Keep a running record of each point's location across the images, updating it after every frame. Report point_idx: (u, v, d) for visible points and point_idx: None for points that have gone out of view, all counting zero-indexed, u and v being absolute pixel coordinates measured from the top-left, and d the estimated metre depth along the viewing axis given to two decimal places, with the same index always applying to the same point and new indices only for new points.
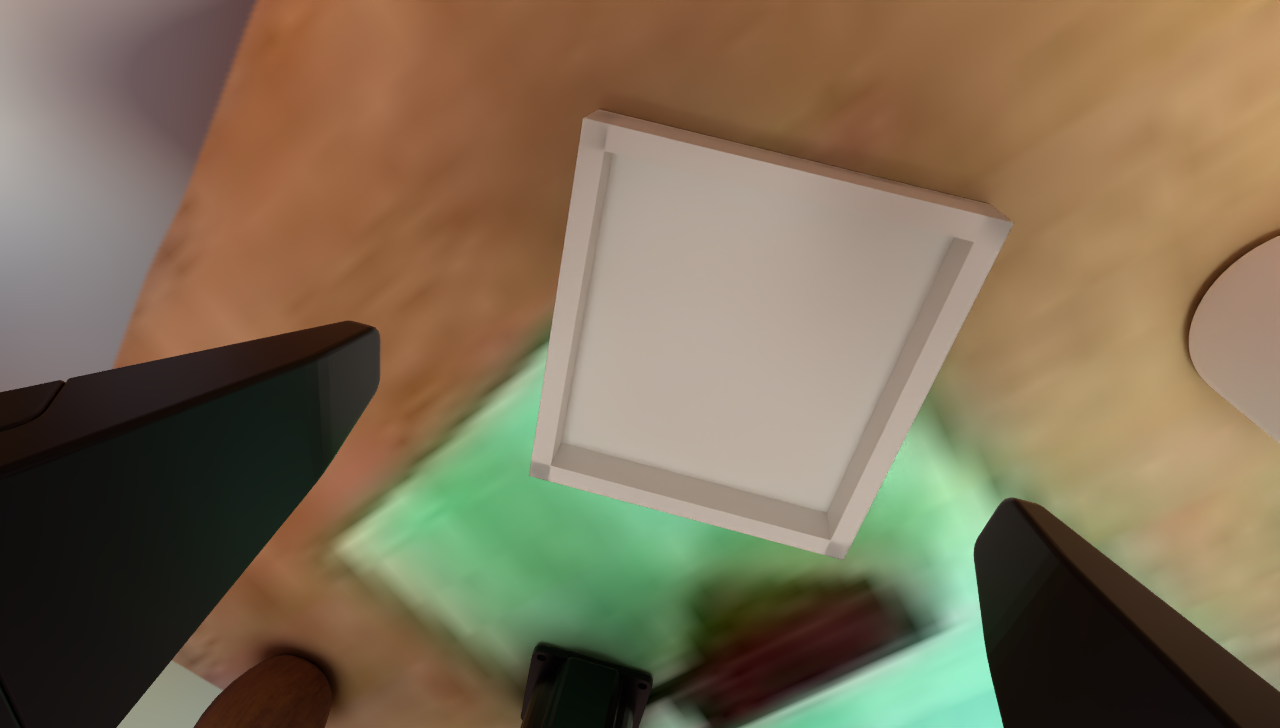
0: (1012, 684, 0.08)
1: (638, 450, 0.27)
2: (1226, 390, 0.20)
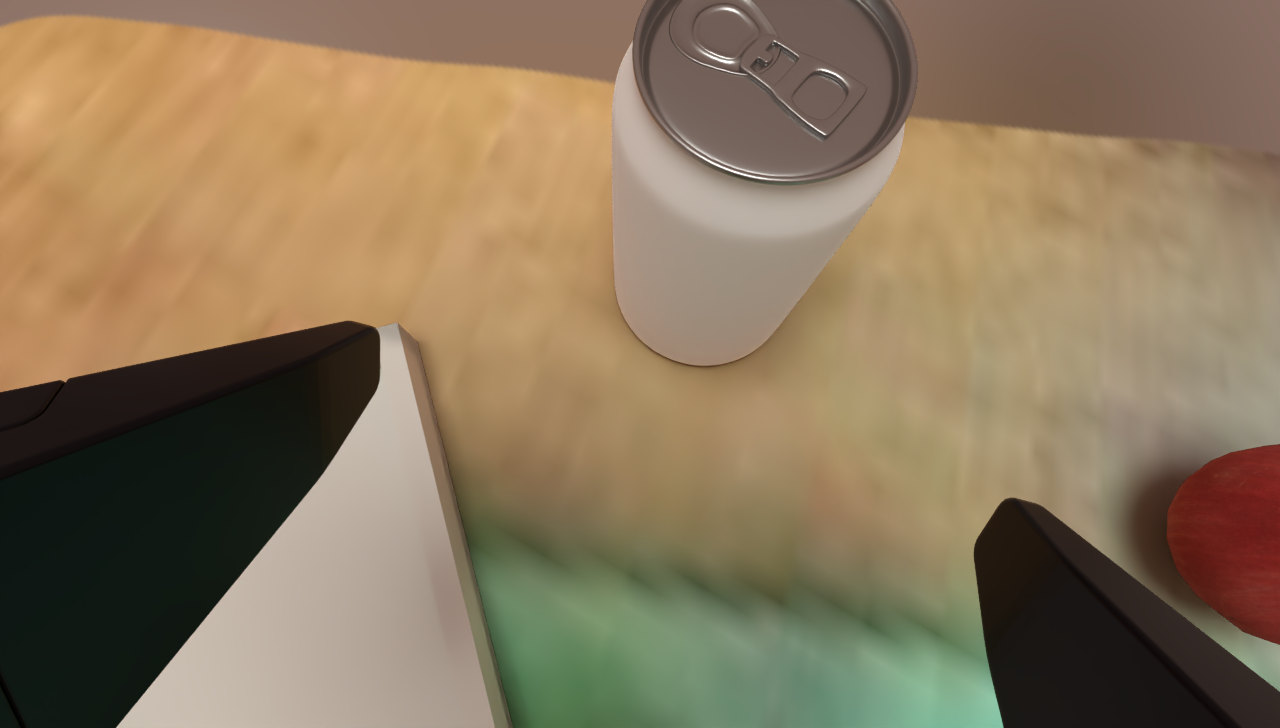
0: (1012, 684, 0.08)
1: None
2: (668, 342, 0.21)
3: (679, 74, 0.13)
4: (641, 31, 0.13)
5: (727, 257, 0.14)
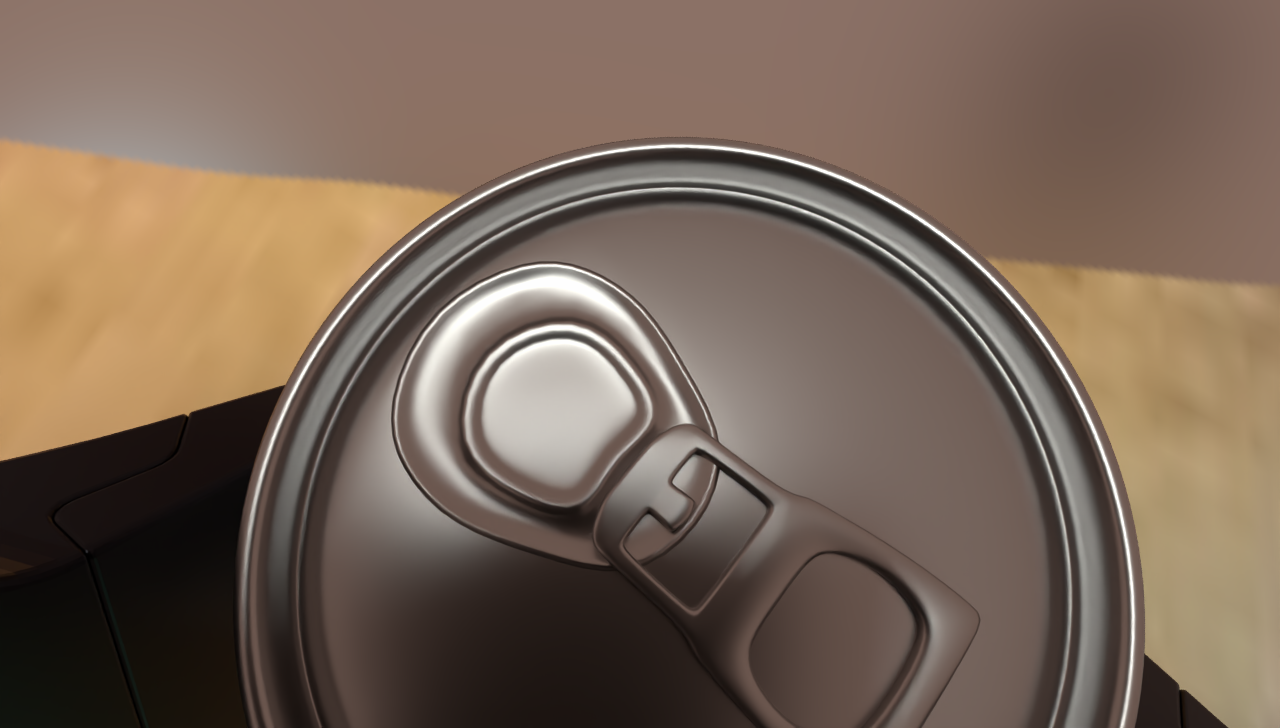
0: None
1: None
2: None
3: (407, 568, 0.04)
4: (279, 449, 0.04)
5: None
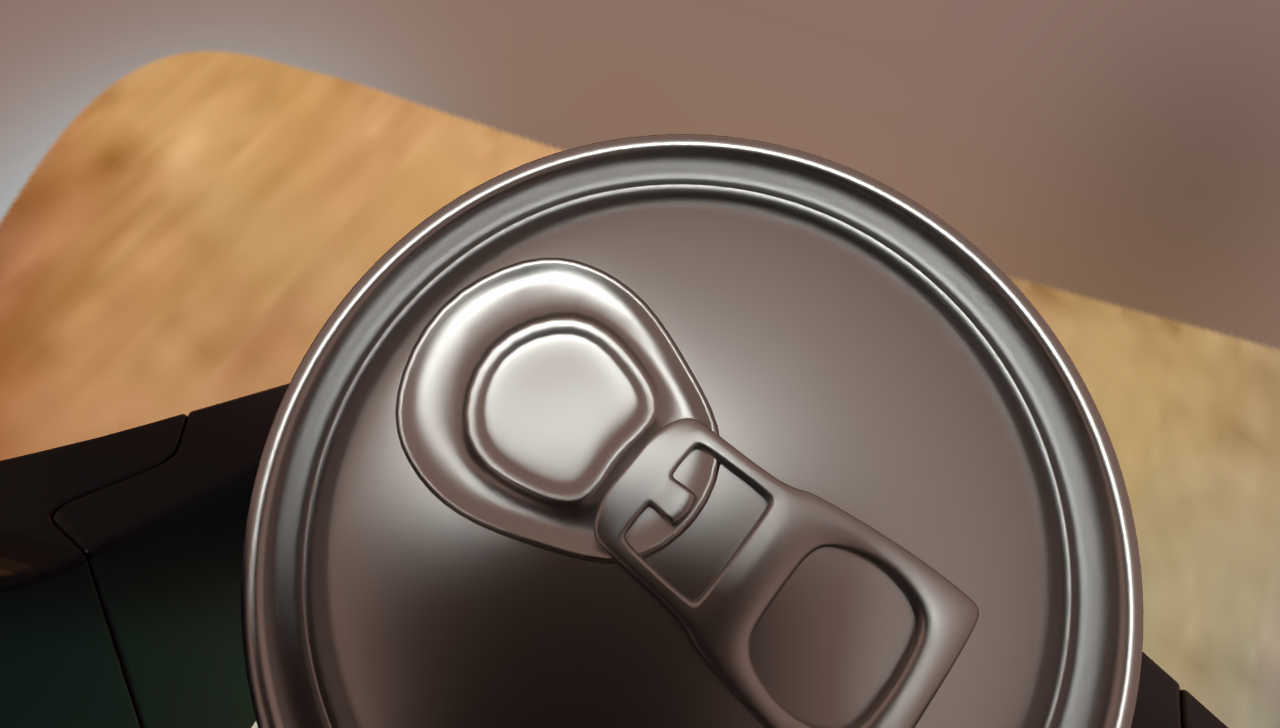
0: None
1: None
2: None
3: (411, 562, 0.04)
4: (285, 443, 0.04)
5: None
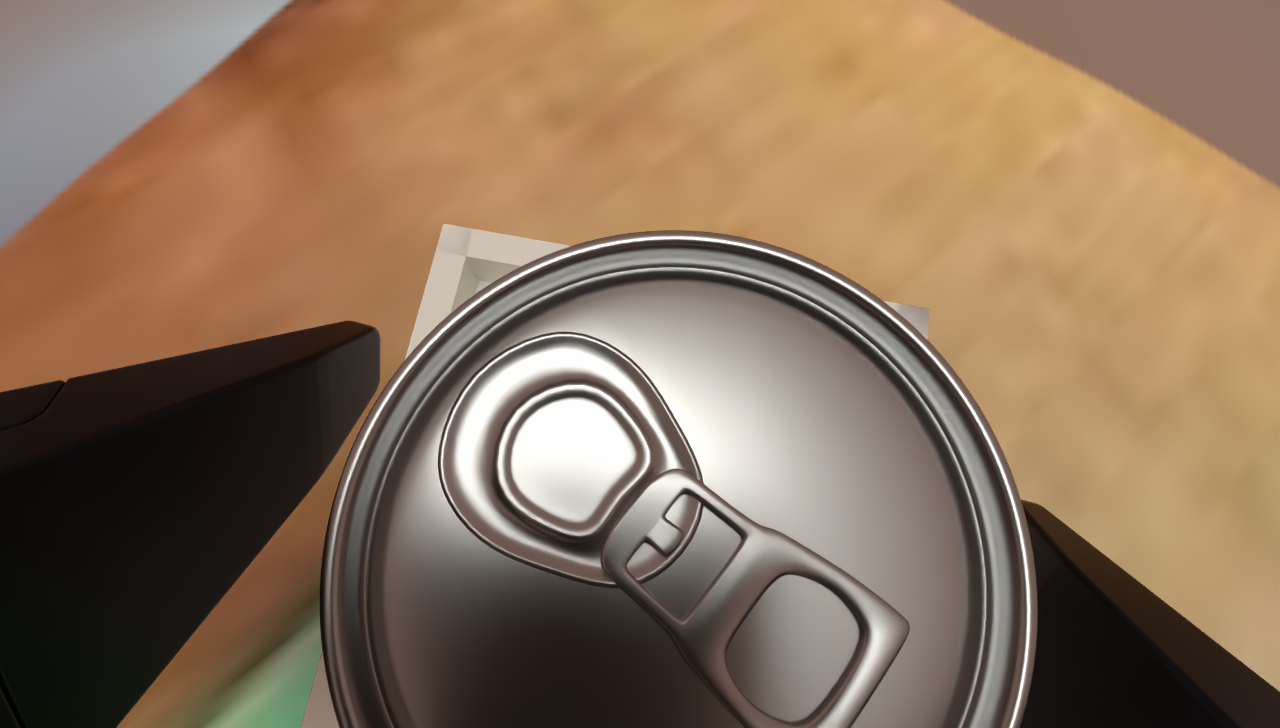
0: None
1: None
2: None
3: (453, 586, 0.05)
4: (352, 491, 0.05)
5: None
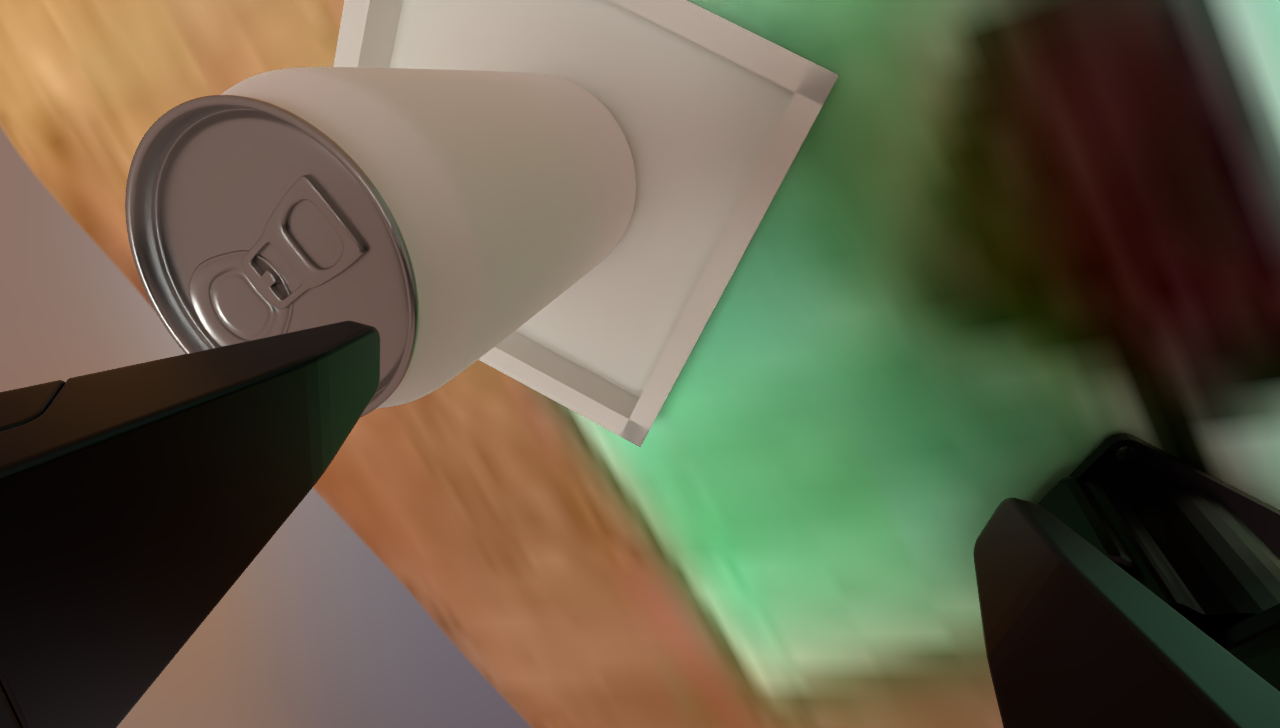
0: (1012, 684, 0.08)
1: (661, 318, 0.22)
2: (597, 262, 0.20)
3: None
4: None
5: (499, 322, 0.13)
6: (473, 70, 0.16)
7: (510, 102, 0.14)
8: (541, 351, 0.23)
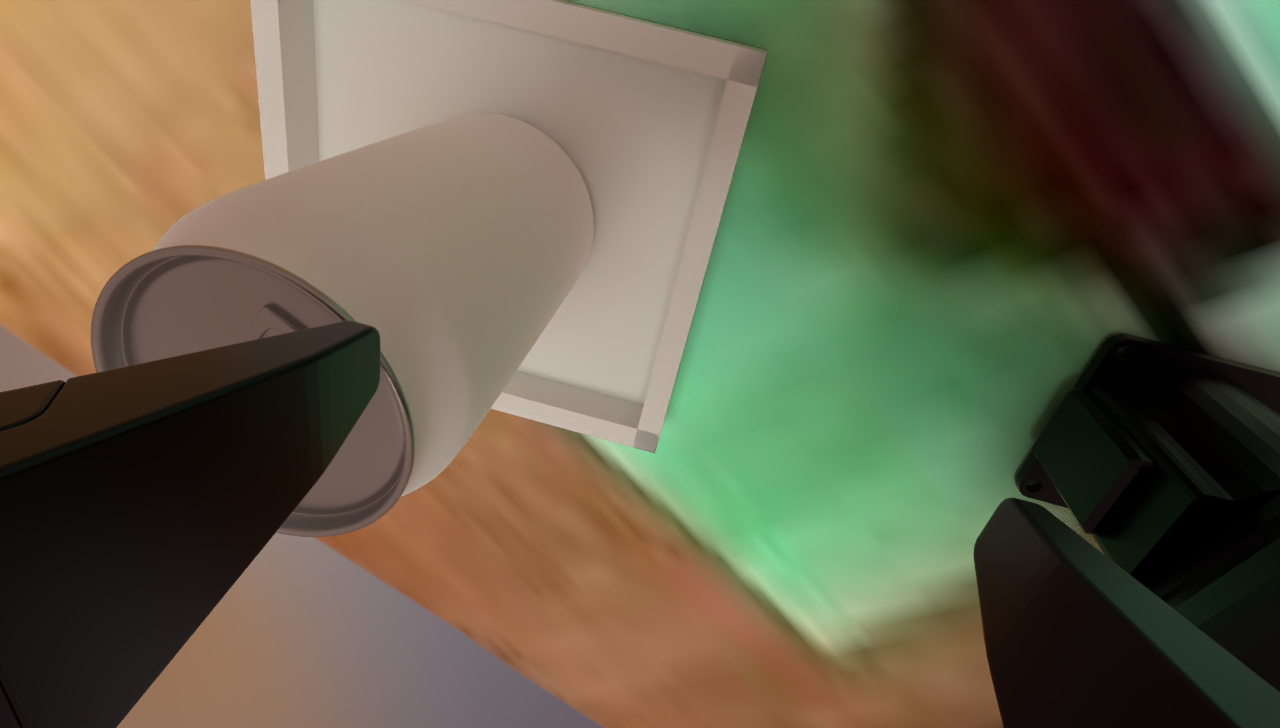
0: (1012, 684, 0.08)
1: (646, 323, 0.22)
2: (571, 288, 0.19)
3: None
4: None
5: (491, 389, 0.13)
6: (403, 135, 0.16)
7: (448, 163, 0.14)
8: (536, 381, 0.23)
